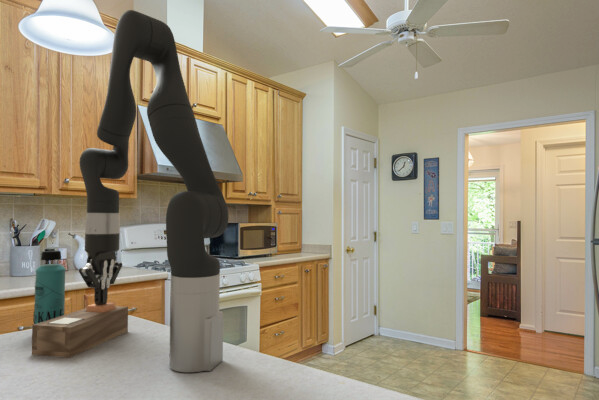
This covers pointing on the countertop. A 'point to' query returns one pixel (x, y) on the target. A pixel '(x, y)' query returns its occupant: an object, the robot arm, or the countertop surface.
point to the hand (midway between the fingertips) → (100, 304)
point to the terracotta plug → (100, 307)
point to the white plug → (65, 321)
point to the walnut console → (78, 332)
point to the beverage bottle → (49, 289)
